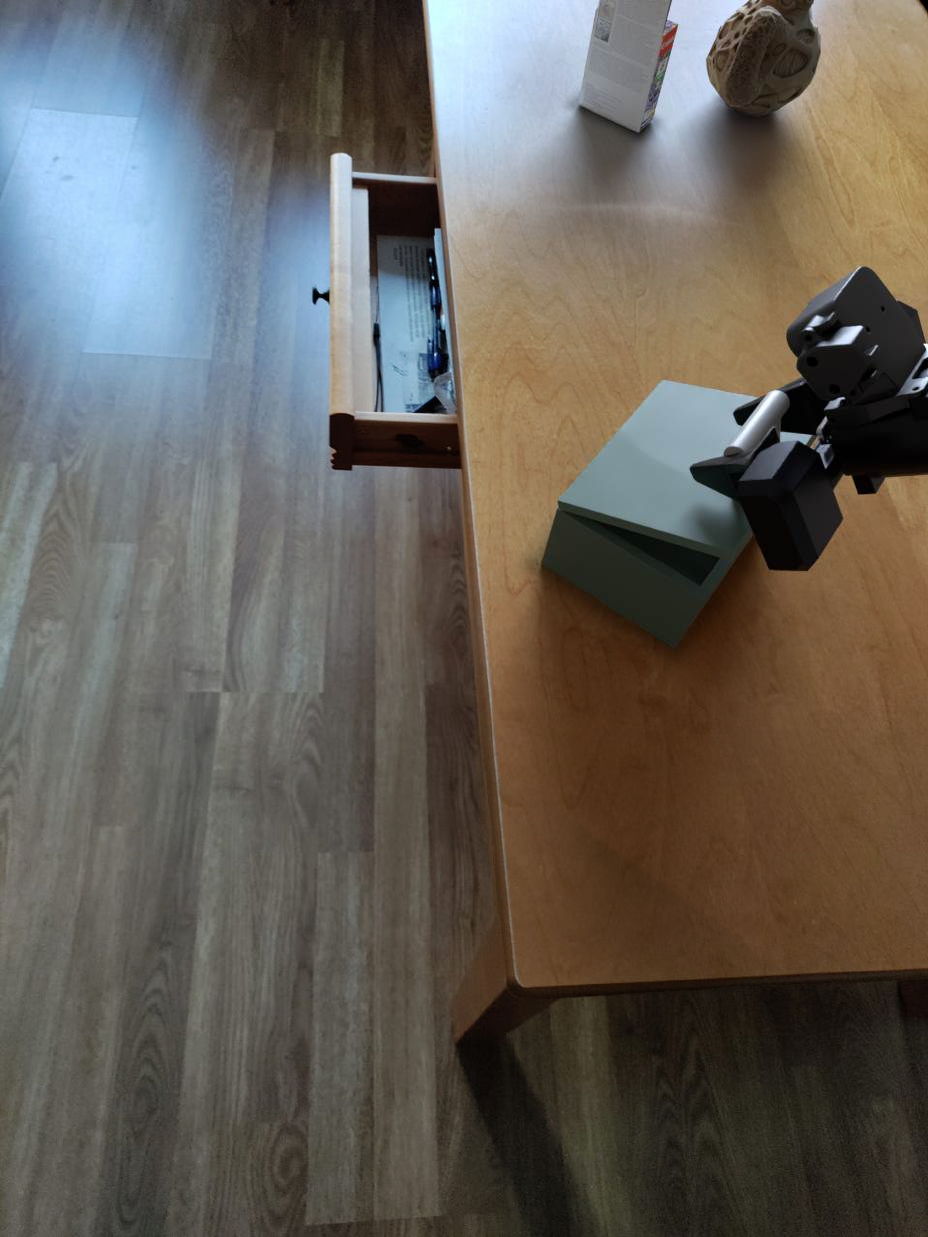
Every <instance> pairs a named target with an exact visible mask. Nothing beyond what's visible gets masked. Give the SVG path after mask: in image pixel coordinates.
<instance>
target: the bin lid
mask: <svg viewBox="0 0 928 1237" xmlns="http://www.w3.org/2000/svg"><path fill="white" fill-rule="evenodd" d="M766 394H767V395H766ZM766 394H765V395H766V396H765V397H764V399H763V400H762V401H761V403H760V404H759V405H758V406H757V408H756V409H755V410H754V412H753V413H752V414H751V416H750V417H749V418H748V420H747V421H746V422H745V423H744V425H743V426H739V425H737V423H736V421H735V419H734V416H733V412H734V411H735V409H736V408H738V407H740V406H742V405H744V404H747V403H749V402H751V401H753V400H755V399H757V398H759V397H758V396H751V395H746V394H742V393H737V392H736V393H735V392H730V391H726V390H720V389H715V388H710V387H704V386H699V385H693V384H687V383H683V382H678V381H673V380H667V379H661V381H659V383H658V384H657V385H656V387H654V388H653V390H652V391H651V392H650V393H649V394H648V396H647V397H646V398H645V399H644V400H643V401H642V402H641V404H640V405H638V407H637V408H636V409H635V411H634V412H633V413H631V415H630V416H629V418H627V420H626V421H625V422H624V423H623V425H622V426H620V428H619V429H618V430H617V431H616V432H615V433H614V435H612V437H611V438H610V439H609V440H608V442H606V444H604V446H603V447H602V448H601V449H600V451H599V452H598V453H597V454H596V455H595V456H594V458H593V459H592V460H591V461H590V462H589V463H588V465H586V467H585V468H584V469H582V472H581V473H580V474H579V475H578V476H577V477H576V478H575V479H574V481H573V482H572V483H571V484H570V485H569V486H568V488H567V489H566V490H565V491H564V492H563V493H562V494H561V495H560V497H559V498H558V499H557V505H558V507H559V509H560V510H564V511H567V512H570V513H574V514H577V515H580V516H584V517H587V518H590V519H594V520H597V521H600V522H604V523H607V524H610V525H614V526H617V527H620V528H624V529H627V530H630V531H634V532H637V533H640V534H644V535H647V536H650V537H654V538H657V539H660V540H664V541H667V542H670V543H674V544H677V545H680V546H684V547H687V548H690V549H694V550H697V551H700V552H704V553H707V554H710V555H713V556H717V557H720V558H723V559H727V560H730V561H732V560H733V558H734V557H735V555H736V554H737V552H738V551H739V549H740V548H741V547H742V545H743V544H744V542H745V541H746V539H747V538H748V536H749V535H750V534H751V532H752V529H751V527H750V525H749V522H748V520H747V518H746V515H745V513H744V511H743V508H742V506H741V504H740V503H739V502H737V501H735V500H733V499H731V498H729V497H727V496H725V495H723V494H721V493H719V492H717V491H714V490H712V489H710V488H708V487H706V486H704V485H702V484H700V483H698V482H696V481H695V480H694V479H693V477H692V474H691V472H690V470H689V468H690V467H691V465H692V464H694V463H697V462H701V461H704V460H708V459H712V458H717V457H722V456H726V455H731V454H736V453H741V452H746V451H750V450H755V449H756V447H757V446H758V445H759V443H760V442H761V441H762V439H763V438H764V437H765V435H766V434H767V433H768V431H769V430H770V428H772V427H773V426H774V427H775V429H776V432H777V434H778V437H779V439H780V442H786V441H796V440H798V441H800V442H802V443H803V444H805V445H807V446H809V447H810V448H812V445H813V444H814V442H815V441H816V440H817V439H818V437H817V436H816V435H806V434H797V433H787V432H781V418H782V416H783V415H784V414H785V412H786V411H787V409H788V408H789V406H790V400H789V398H788V396H787V395H786V394H785V393H783V392H781V391H778V390H776V389H774V390H770V391H768V392H767V393H766ZM558 507H557V508H558Z"/></svg>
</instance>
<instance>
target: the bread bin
mask: <svg viewBox="0 0 928 1237" xmlns="http://www.w3.org/2000/svg"><path fill="white" fill-rule="evenodd" d="M753 536H754V534H753V532H751V534H750V535H749V536H748V538H747V539H746V541H745V542H744V544H743V545H742V547H741V548H740V549H739V551H738V552H737V554H736V555H735V557H734V558H733V560H732V561H730V560H727V559H723V558H720V557H717V556H713V555H710V554H707V553H704V552H700V551H697V550H694V549H690V548H687V547H684V546H680V545H677V544H674V543H670V542H667V541H664V540H660V539H657V538H654V537H650V536H647V535H644V534H640V533H637V532H634V531H630V530H627V529H624V528H620V527H617V526H614V525H610V524H607V523H604V522H600V521H597V520H594V519H590V518H587V517H584V516H580V515H577V514H574V513H570V512H567V511H564V510H560V509H559V507H557V508H556V510H555V514H554V518H553V521H552V524H551V528H550V531H549V535H548V538H547V542H546V545H545V548H544V552H543V555H542V558H541V562H540V564H541V565H542V566H544V567H546V568H547V569H549V570H550V571H552V572H553V573H555V574H557V575H558V576H560V577H561V578H563V579H564V580H565V581H568V582H569V583H570V584H572V585H574V586H575V587H577V588H579V590H582V591H583V592H584V593H586V594H588V595H589V596H591V597H593V598H594V599H596V600H597V601H599V602H600V603H601V604H603V605H605V606H607V607H608V608H609V609H612V610H613V611H614V612H615V613H617V614H619V615H621V616H622V617H623V618H625V619H627V620H628V621H630V622H632V623H633V624H634V625H636V626H638V627H639V628H641V629H642V630H644V631H645V632H647V633H649V635H652V636H653V637H654V638H656V639H658V640H659V641H660V642H662V643H664V644H665V645H667V646H668V647H670V648H672V649H673V650H675V649H676V648H677V646H678V645H679V644H680V642H681V641H682V639H683V638H684V636H685V635H686V633H687V632H688V630H689V629H690V628H691V626H692V625H693V623H694V621H695V620H696V618H697V617H698V616H699V614H700V613H701V612H702V610H703V609H704V607H705V606H706V605H707V603H708V601H709V600H710V598H711V597H712V595H713V594H714V593H715V591H716V590H717V588H718V587H719V585H720V584H721V582H722V581H723V579H725V577H726V575H727V574H728V572H729V571H730V569H731V568H732V566H734V564H735V562H736V561H737V559H738V558H739V556H740V555H741V553H742V552H743V551H744V549H745V548H746V546H747V545H748V543H749V542H750V540H751V539H752V538H753Z"/></svg>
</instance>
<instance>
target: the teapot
mask: <svg viewBox="0 0 928 1237" xmlns="http://www.w3.org/2000/svg"><path fill="white" fill-rule="evenodd" d="M814 2H815V0H748V1H747V2H745V3H744V4H743V5H742V6H740V7H738V9H737V10H735V11H734V12H733V13H732V15H730V16H729V17H728V18H727V19H725V21H724V22H723V24H722V25H720V26H719V28H718V30H717V34H716V36H715V39H714V40H713V43H712V45H711V48H710V50H709V51H708V54H707V56H706V58H705V66H706V72H707V77H708V81H709V83H710V85H711V86H712V87H713V88H714V90H715V91H716V93H717V94H718V96H719V97H720V98H721V100H722V101H723V103H724V104H725V105H726V106H727V107H729V108H730V109H733V110H734V111H736V112H739V113H740V114H743V115H746V116H748V117H750V118H758V117H763V116H765V115H769V114H771V113H773V112H776V111H780V109H783V107H785V106H787V105H788V104H789V103H792V102H793V101H794V100H796V99H798V98H799V97H801V95H803V93H804V92H805V90H806V89H807V88H808V87H809V86H810V85H811V84H812V81H813V79H814V77H815V75H816V72H817V69H818V64H819V60H820V58H821V54H822V49H821V48H822V45H821V43H822V42H821V40H822V38H821V37H822V36H821V34H820V32H819V26H818V25H817V24H816V23H815V22H814V20H813V12H812V10H813V9H812V6H813V5H814Z"/></svg>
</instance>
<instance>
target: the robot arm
mask: <svg viewBox="0 0 928 1237" xmlns="http://www.w3.org/2000/svg"><path fill="white" fill-rule="evenodd" d="M785 333H786V335H785V337H786V338H785V339H786V343H787V346H788V348H789V349H790V351H791V353H792V354H793V355H794V356H795V357H796V364H795V369H796V370H797V372H798V373H799V374H800V377H799V378H797V379H794V380H793V381H791V382H789V383H787V384H785V385H783V386H781V387H778V388H776V389H775V390H778V391H781V392H783V393H785V394H786V395H787V396H788V398H789V400H790V406H789V408H788V409H787V411H786V412H785V414H784V415H783V416H782V418H781V432H787V433H797V434H806V435H816V436H817V441H816V443H815V445H813V447H809V446H807V445H805V444H803V443H802V442H800V441H798V440H796V441H786V442H780V439H779V437H778V434H777V432H776V429H775V427H774V426H773V427H772V428H770V430H769V431H768V433H767V434H766V435H765V437H764V438H763V439H762V441H761V442H760V443H759V445H758V446H757V447H756V449H755V450H750V451H746V452H741V453H736V454H731V455H726V456H722V457H717V458H712V459H708V460H704V461H701V462H697V463H694V464H692V465H691V467H690V468H689V470H690V472H691V474H692V477H693V479H694V480H695V481H696V482H698V483H700V484H702V485H704V486H706V487H708V488H710V489H712V490H714V491H717V492H719V493H721V494H723V495H725V496H727V497H729V498H731V499H733V500H735V501H737V502H739V503H740V504H741V506H742V508H743V511H744V513H745V515H746V518H747V520H748V522H749V525H750V527H751V529H752V532H753V536H754V539H755V541H756V543H757V546H758V548H759V550H760V553H761V555H762V558H763V560H764V561H765V564H766V566H767V569H768V571H774V572H775V571H776V572H808V571H809V570H810V569H812V567H813V566H814V565H815V563H817V561H818V560H819V559H820V558H821V556H822V554H823V553H824V551H825V549H826V548H827V546H828V545H829V543H830V542H831V540H832V539H833V537H834V535H835V534H836V533H837V530H838V528H839V527H840V526H841V524H842V522H843V520H844V516H843V514H842V510H841V508H840V505H839V502H838V499H837V497H836V494H835V491H834V490H836V487H838V485H839V483H840V481H841V480H842V478H844V476H845V477H851V478H852V482H853V485H854V488H855V490H856V493H857V495H858V496H859V495H860V496H862V495H864V496H865V495H877V493H878V491H879V489H880V488H881V487H882V485H883V483H884V481H885V480H886V478H887V479H889V478H900V477H916V476H918V477H919V476H928V343H927V341H926V338H925V337H926V336H925V334H924V329H923V326H922V322H921V319H920V315H919V312H918V309H916V308H914V307H912V306H910V305H908V304H907V303H904V302H903V301H901V300H899V299H896V298H895V296H894V295H893V294H892V292H891V291H890V289H889V288H888V287H887V286H886V284H885V282H883V280H882V279H881V278H880V277H879V275H878V274H877V272H875V270H873V269H872V268H870V267H869V266H865V265H861V266H859V267H857V268H856V269H854V270H853V271H851V272H850V273H848V274H847V275H845V276H844V277H842V278H840V279H839V280H838V281H836V282H835V283H833V284H831V285H830V286H829V287H827V288H825V289H824V290H823V291H821V292H820V293H817V294H816V295H815V296H813V297H812V298H811V299H810V300H808V302H807V305H806V307H805V308H804V309H803V310H802V311H801V313H800V314H799V315H798V317H797V318H795V320H794V321H793V322H791V324H790V325H789V326H788V327H787V329H786V332H785ZM767 394H768V393H765V394H764V395H760V396H759V397H758V398H757V399H755V400H753V401H751V402H749V403H747V404H744V405H742V406H740V407H738V408H736V409H735V411H734V412H733V416H734V419H735V421H736V423H737V425H739V426H743V425H744V423H745V422H746V421H747V420H748V418H749V417H750V416H751V414H752V413H753V412H754V410H755V409H756V408H757V406H758V405H759V404H760V403H761V401H762V400H763V399H764V397H765V396H766V395H767Z"/></svg>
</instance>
